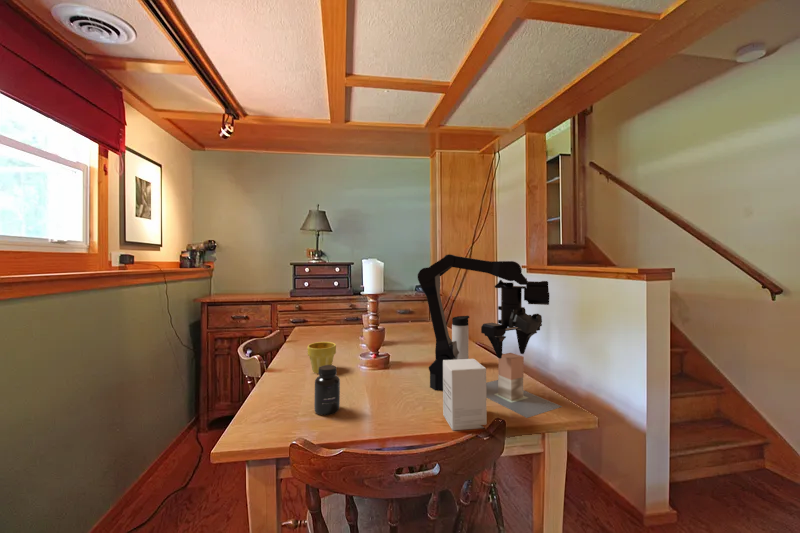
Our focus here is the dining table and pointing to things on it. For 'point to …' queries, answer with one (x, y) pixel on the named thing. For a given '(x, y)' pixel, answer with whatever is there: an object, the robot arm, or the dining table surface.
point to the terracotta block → (511, 366)
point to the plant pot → (321, 354)
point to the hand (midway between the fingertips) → (511, 355)
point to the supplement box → (464, 394)
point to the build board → (520, 401)
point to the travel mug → (461, 335)
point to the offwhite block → (510, 388)
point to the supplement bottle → (327, 391)
